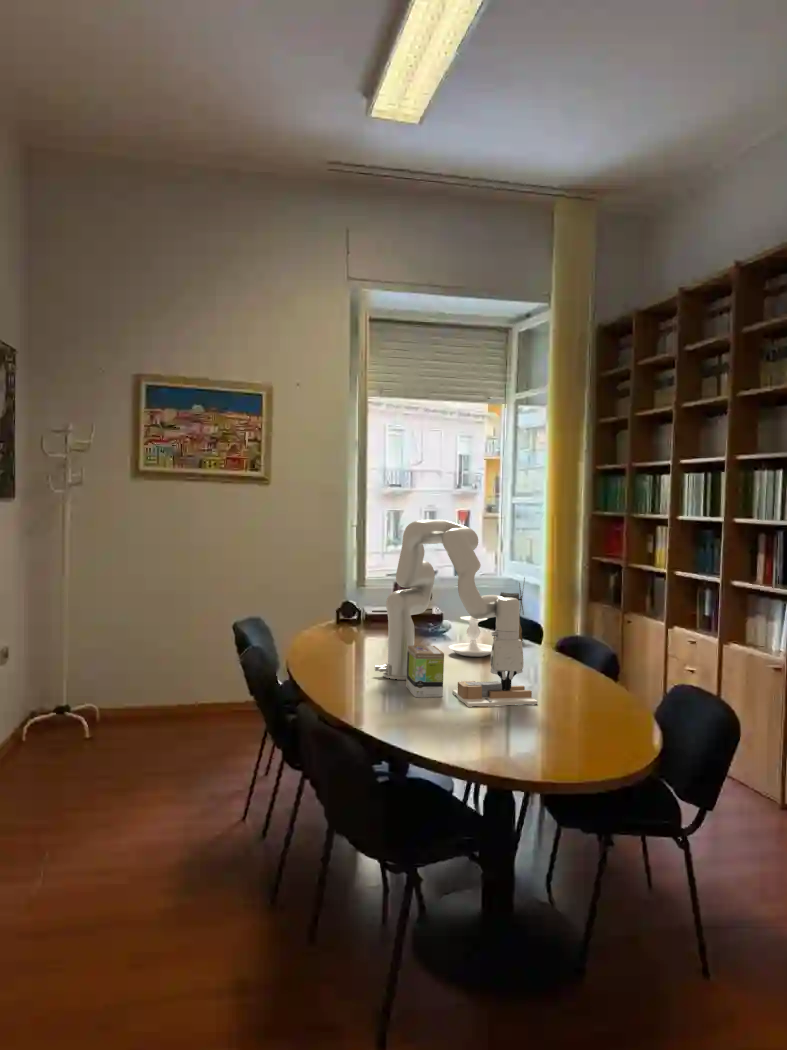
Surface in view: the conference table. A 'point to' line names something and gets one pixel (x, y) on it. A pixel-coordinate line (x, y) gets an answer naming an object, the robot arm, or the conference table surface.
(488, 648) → the candlestick
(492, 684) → the bolt
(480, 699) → the lock board
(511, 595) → the windmill
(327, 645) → the conference table surface
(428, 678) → the tea box
